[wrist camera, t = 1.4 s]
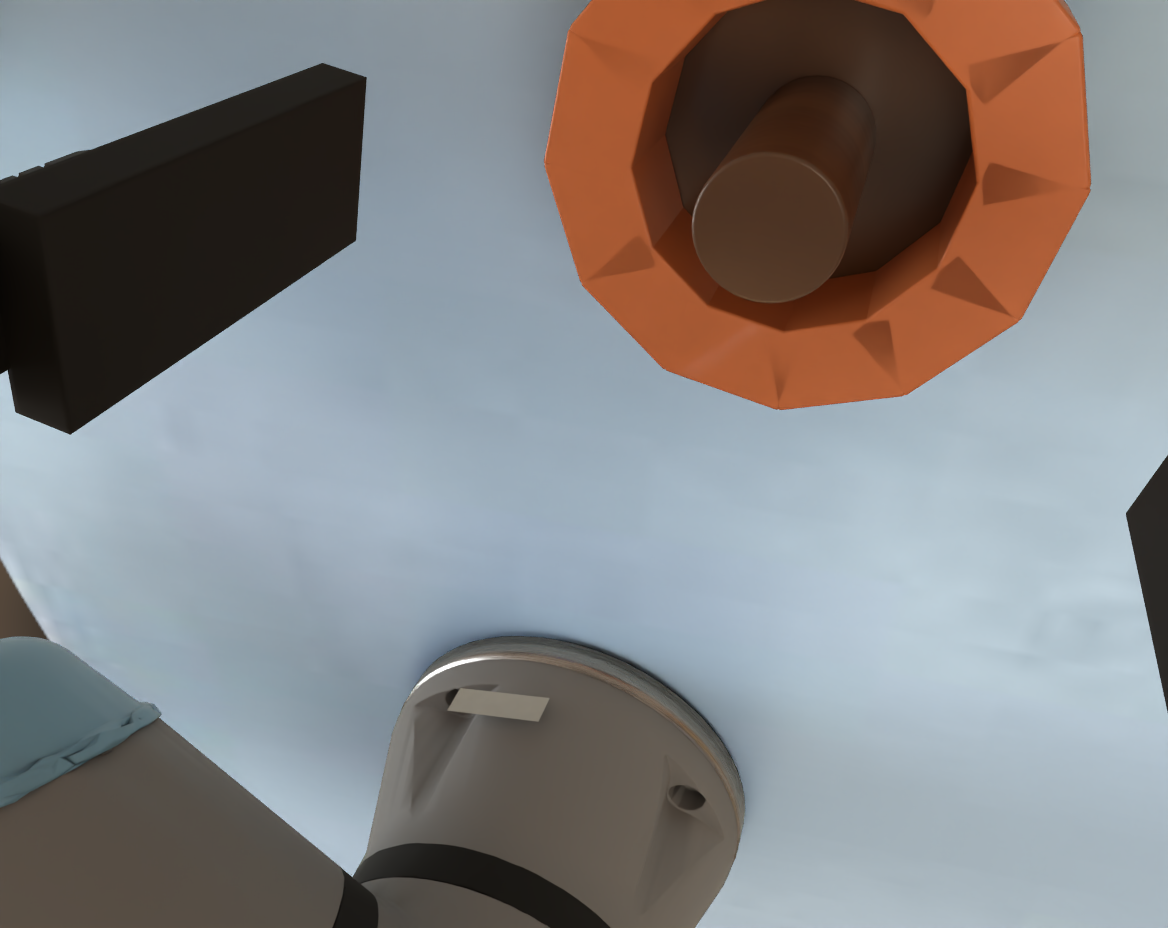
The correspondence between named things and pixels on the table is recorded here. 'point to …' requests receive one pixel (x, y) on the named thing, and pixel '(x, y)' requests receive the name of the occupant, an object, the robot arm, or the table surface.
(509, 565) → the table surface
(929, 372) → the ring
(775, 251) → the walnut peg
